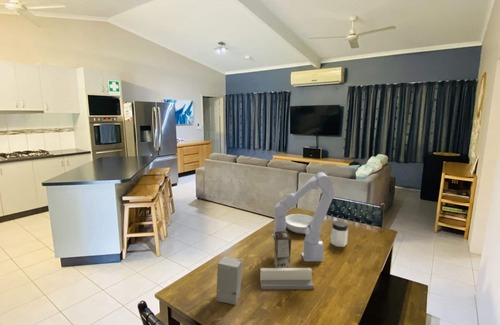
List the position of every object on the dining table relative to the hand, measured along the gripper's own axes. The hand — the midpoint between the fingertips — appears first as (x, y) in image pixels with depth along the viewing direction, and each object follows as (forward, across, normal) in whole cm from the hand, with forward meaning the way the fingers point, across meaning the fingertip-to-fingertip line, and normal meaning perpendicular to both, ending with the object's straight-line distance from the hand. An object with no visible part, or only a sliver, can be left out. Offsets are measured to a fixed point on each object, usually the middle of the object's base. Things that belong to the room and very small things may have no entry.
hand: (279, 251), depth 138 cm
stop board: (+2, +24, 0) cm, 24 cm away
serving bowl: (+3, -32, +18) cm, 36 cm away
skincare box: (+3, +32, -24) cm, 40 cm away
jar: (+3, -14, +36) cm, 38 cm away
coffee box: (+3, +10, 0) cm, 10 cm away
